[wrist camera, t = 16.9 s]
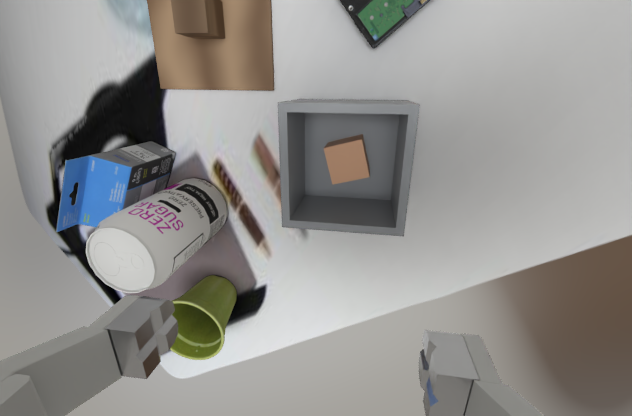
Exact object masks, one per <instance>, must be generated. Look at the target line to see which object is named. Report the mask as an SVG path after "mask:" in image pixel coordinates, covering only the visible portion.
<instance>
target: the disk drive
mask: <svg viewBox="0 0 632 416" xmlns="http://www.w3.org/2000/svg"><path fill="white" fill-rule="evenodd" d="M340 1H341V3H342V4H343V5H344V7H345V8H346V10H347V11H348V13H349V14H350V16H351V17H352V19H353V20H354V22H355V24H356V26H357V27H358V28H359V30H360V31H361V33H363V35H364V36H365V38H366V39H367V41H368V42H369V44H370V45H371V46H372V48H376V47H377V46H378V45H379V44H380V43H381V42H382V41H384V40H385V39H386V38H387V37H388V36H389V35H390V34H392V33H393V32H394V31H395V30H396V29H397V28H399V27H400V26H401V25H402V24H403V23H404V22H406V21H407V20H408V19H409V18H410V17H411V16H412V15H413V14H414V13H416V12H417V11H418V10H419V9H420V8H422V7H423V6H424V5H425V4H426V3H428V2H429V1H430V0H340Z"/></svg>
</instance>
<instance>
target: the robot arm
mask: <svg viewBox="0 0 632 416" xmlns="http://www.w3.org/2000/svg"><path fill="white" fill-rule="evenodd" d="M174 311H175V307H174V303H173V302H172V301H170V300H167V299H160V298H153V297H146V296H137V295H127V296H124V297H123V298H122V299H121V300H120V301H118V302H117V303H116V304H115V305H114V306H113V307H111V308H110V309H109V310H108V311H107V312H105V313H104V314H103V315H102V316H101V317H99V318H98V319H97V320H96V321H95V322H93V323H92V324H91V325H90V326H89V327H81V328H79V329H77V330H74V331H72V332H69V333H67V334H64V335H62V336H60V337H57V338H55V339H52V340H50V341H48V342H45V343H43V344H41V345H38V346H35V347H33V348H30V349H28V350H26V351H23V352H21V353H18V354H16V355H14V356H11V357H9V358H6V359H4V360H2V361H0V416H65V415H67V414H68V413H70V412H71V411H72V410H74V409H75V408H77V407H78V406H80V405H81V404H83V403H84V402H86V401H87V400H89V399H90V398H92V397H93V396H95V395H96V394H98V393H99V392H101V391H102V390H104V389H105V388H106V387H108V386H110V385H111V384H113V383H114V382H115V381H117V380H118V379H120V378H121V376H126V377H134V378H142V379H147V378H148V377H149V375H150V374H151V373H152V372H153V370H154V369H155V368H156V367H157V365H158V364H159V363H160V355H162V354H163V353H165V352H167V351H169V350H170V348H171V347H172V346H173V344H174V343H175V340H176V337H177V335H178V322H177V320H176V319H175V318H174V317H173V315H172V314H173V313H174ZM422 342H423V347H424V349H423V350H422V351H421V352H420V357H419V379H420V385H421V387H422V388H423V390H424V391H425V393H424V400H423V403H424V408H425V414H426V416H544V415H543V414H542V413H541V412H540V411H539V410H537V409H536V408H535V407H534V406H533V405H532V404H530V403H529V402H528V401H527V400H526V399H525V398H523V397H522V396H521V395H520V394H519V393H518V392H516V391H515V390H514V389H513V388H512V387H510V386H509V385H506V384H502V381H501V379H500V377H499V375H498V373H497V370H496V368H495V366H494V364H493V362H492V359H491V357H490V355H489V353H488V351H487V348H486V346H485V344H484V342H483V340H482V338H481V337H480V336H479V335H471V334H458V333H449V332H440V331H431V330H425V331H424V333H423V338H422Z"/></svg>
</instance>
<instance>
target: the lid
mask: <svg viewBox="0 0 632 416" xmlns="http://www.w3.org/2000/svg"><path fill="white" fill-rule="evenodd" d="M147 3H148V10H149V16H150V22H151V29H152V35H153V41H154V48H155V54H156V61H157V67H158V73H159V80H160V86H161V89H208V90H274V67H273V38H272V9H271V0H147Z"/></svg>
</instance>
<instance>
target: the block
mask: <svg viewBox="0 0 632 416" xmlns="http://www.w3.org/2000/svg"><path fill="white" fill-rule="evenodd" d="M324 152H325V157H326V161H327V165H328V169H329V173H330V177H331V181H332V185H333V184H338V183H343V182H348V181H353V180H358V179H363V178H368V177H370V167H369V162H368V157H367V152H366V147H365V142H364V137H363V134H360V135H356V136H352V137H347V138H343V139H339V140H335V141H331V142H328V143H327V144H326V146H325V147H324Z"/></svg>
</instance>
